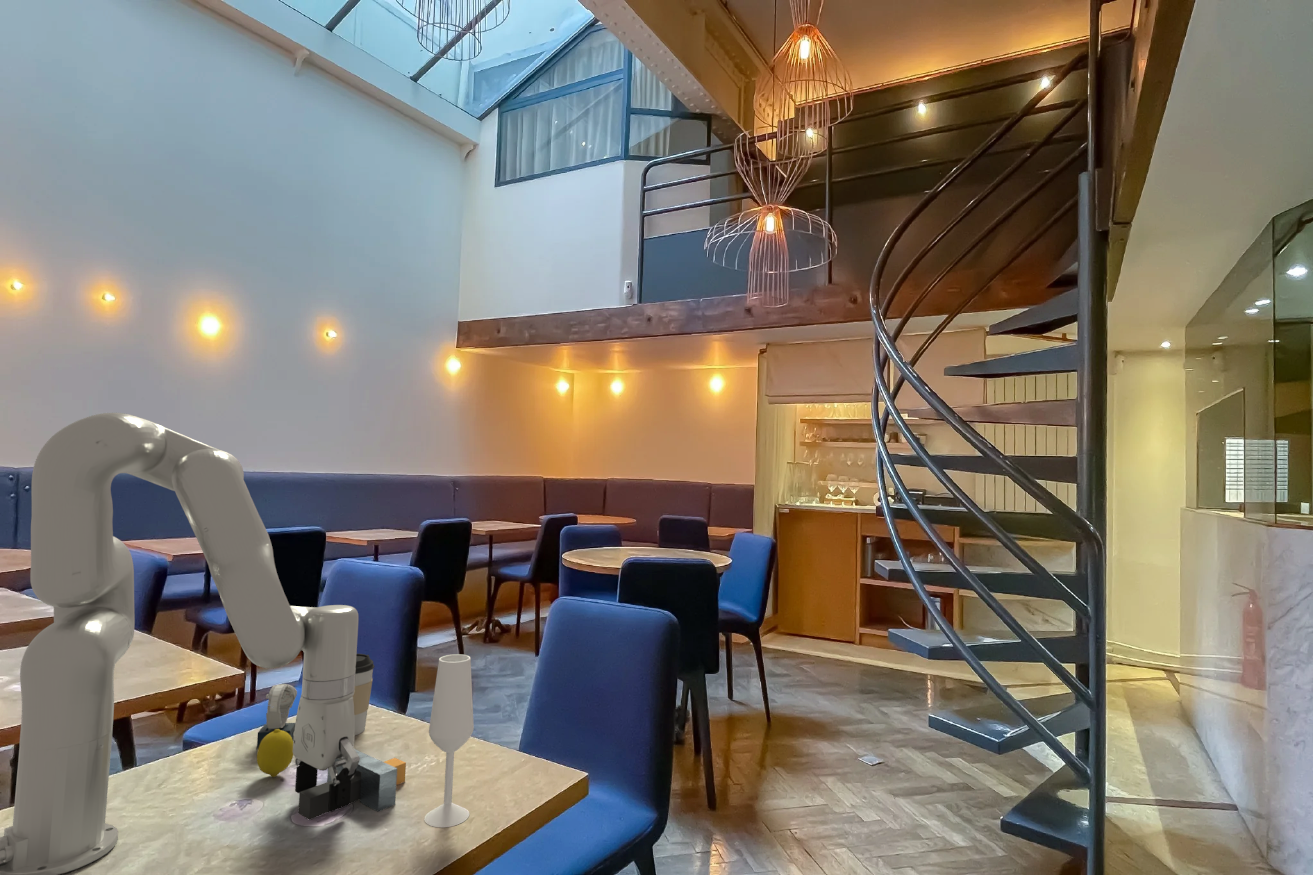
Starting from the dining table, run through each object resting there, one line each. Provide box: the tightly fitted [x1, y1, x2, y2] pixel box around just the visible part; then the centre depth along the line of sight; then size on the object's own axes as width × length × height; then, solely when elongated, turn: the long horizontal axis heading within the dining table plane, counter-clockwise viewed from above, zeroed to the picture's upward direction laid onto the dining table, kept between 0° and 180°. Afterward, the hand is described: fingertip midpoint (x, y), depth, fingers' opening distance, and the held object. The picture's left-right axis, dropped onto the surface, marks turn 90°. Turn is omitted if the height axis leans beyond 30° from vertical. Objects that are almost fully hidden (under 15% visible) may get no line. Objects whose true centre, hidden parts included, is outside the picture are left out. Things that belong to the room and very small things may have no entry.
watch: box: [256, 683, 298, 750], centre depth 129 cm, size 6×8×11 cm
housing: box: [326, 748, 397, 813], centre depth 110 cm, size 3×15×6 cm, turn 55°
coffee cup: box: [352, 653, 375, 736], centre depth 137 cm, size 9×9×15 cm
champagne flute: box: [424, 653, 475, 828], centre depth 104 cm, size 7×7×24 cm
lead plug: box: [297, 757, 407, 821], centre depth 109 cm, size 16×3×3 cm, turn 145°
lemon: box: [256, 729, 294, 778], centre depth 115 cm, size 6×6×8 cm
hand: (321, 798), depth 105 cm, fingers open, 9 cm apart
